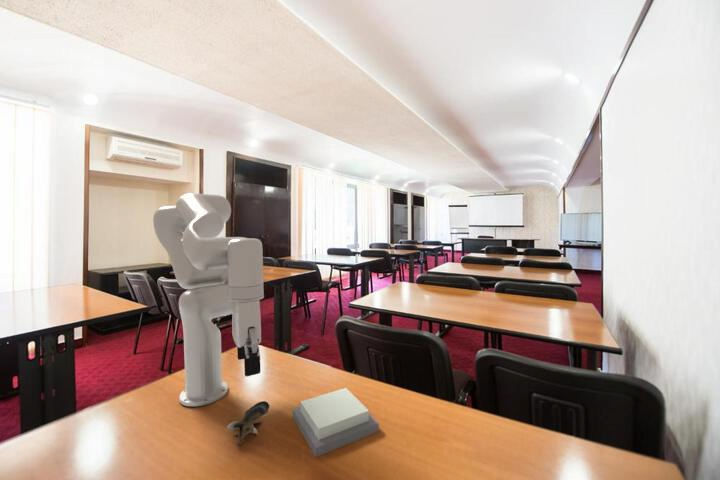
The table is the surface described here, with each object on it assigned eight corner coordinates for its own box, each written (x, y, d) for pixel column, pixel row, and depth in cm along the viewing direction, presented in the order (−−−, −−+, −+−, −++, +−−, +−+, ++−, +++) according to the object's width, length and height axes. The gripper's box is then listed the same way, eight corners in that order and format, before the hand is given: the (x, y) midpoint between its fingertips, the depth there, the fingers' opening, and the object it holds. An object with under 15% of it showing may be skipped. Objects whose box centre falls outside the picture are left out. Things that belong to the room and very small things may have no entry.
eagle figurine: (263, 442, 67) (277, 410, 76) (243, 419, 66) (259, 389, 75) (237, 456, 68) (254, 423, 77) (217, 433, 67) (236, 403, 76)
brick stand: (292, 418, 78) (292, 399, 78) (347, 400, 86) (347, 383, 86) (315, 459, 64) (315, 436, 64) (378, 433, 72) (378, 412, 72)
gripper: (224, 288, 75) (226, 356, 75) (234, 302, 60) (236, 387, 60) (255, 284, 78) (257, 349, 79) (272, 297, 63) (274, 377, 64)
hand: (248, 365), depth 70 cm, fingers open, 9 cm apart
